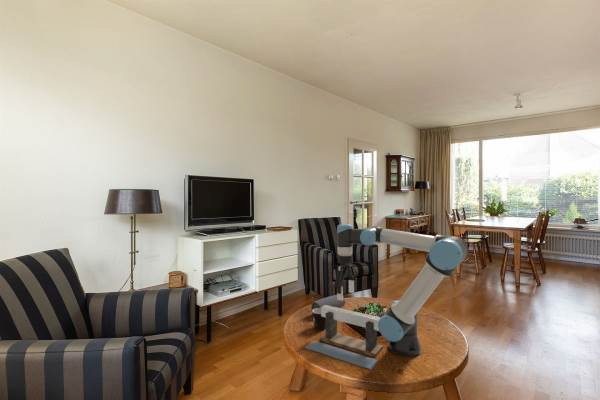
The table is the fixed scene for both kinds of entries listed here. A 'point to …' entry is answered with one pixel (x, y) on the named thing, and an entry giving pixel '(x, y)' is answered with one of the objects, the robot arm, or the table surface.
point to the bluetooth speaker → (328, 302)
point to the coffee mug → (318, 320)
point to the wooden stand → (352, 338)
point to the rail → (350, 316)
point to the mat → (342, 354)
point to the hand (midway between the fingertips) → (346, 296)
